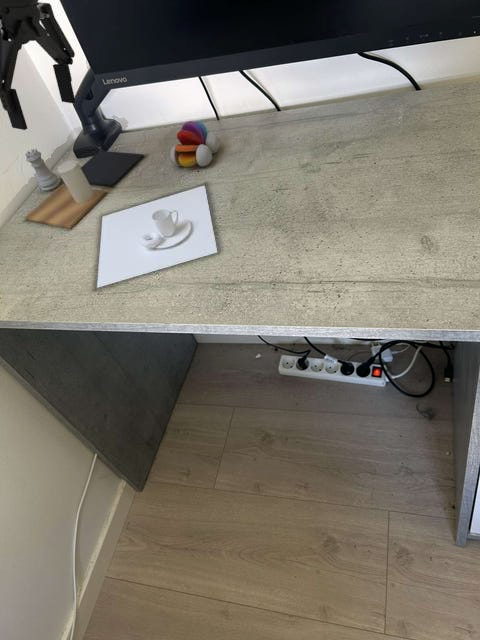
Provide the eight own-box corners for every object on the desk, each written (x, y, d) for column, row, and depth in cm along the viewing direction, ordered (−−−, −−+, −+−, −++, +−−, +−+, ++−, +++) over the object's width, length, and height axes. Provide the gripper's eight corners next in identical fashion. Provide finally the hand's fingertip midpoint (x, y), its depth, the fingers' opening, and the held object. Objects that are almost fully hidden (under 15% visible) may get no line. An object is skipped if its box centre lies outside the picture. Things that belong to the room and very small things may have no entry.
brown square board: (26, 220, 97) (24, 217, 97) (62, 187, 103) (61, 185, 102) (70, 229, 91) (68, 226, 91) (106, 193, 96) (105, 191, 96)
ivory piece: (71, 202, 96) (53, 171, 91) (84, 190, 98) (67, 159, 93) (85, 204, 95) (67, 173, 90) (98, 192, 97) (81, 160, 91)
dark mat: (68, 181, 104) (67, 179, 103) (100, 153, 109) (99, 150, 109) (112, 187, 97) (111, 185, 97) (144, 156, 103) (143, 154, 102)
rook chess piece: (38, 188, 105) (17, 155, 99) (56, 177, 107) (36, 144, 101) (47, 194, 102) (25, 160, 97) (64, 183, 104) (44, 149, 98)
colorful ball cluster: (169, 172, 96) (155, 138, 91) (190, 145, 101) (178, 111, 96) (206, 172, 92) (195, 137, 87) (226, 144, 98) (216, 109, 92)
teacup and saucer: (142, 257, 80) (132, 237, 77) (142, 228, 85) (133, 209, 82) (193, 241, 79) (185, 221, 76) (190, 214, 85) (182, 194, 82)
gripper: (-37, -10, 66) (14, 144, 80) (76, -37, 82) (102, 94, 97) (-78, -14, 68) (-21, 137, 82) (41, -39, 84) (70, 90, 99)
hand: (45, 114), depth 90 cm, fingers open, 13 cm apart
